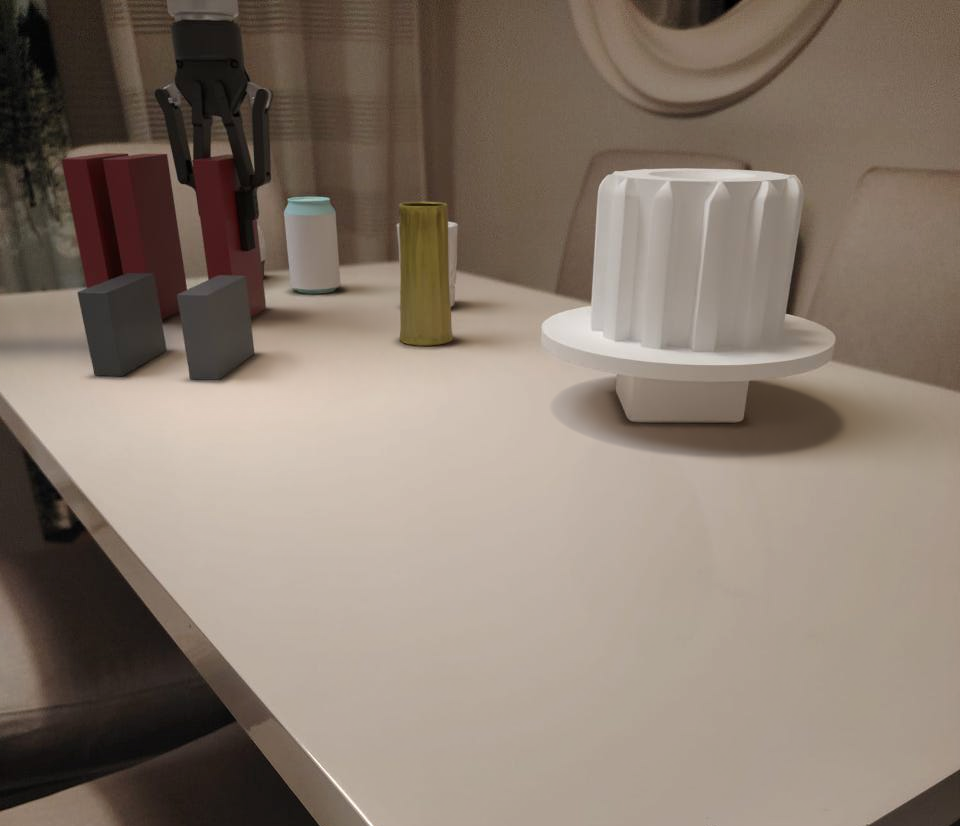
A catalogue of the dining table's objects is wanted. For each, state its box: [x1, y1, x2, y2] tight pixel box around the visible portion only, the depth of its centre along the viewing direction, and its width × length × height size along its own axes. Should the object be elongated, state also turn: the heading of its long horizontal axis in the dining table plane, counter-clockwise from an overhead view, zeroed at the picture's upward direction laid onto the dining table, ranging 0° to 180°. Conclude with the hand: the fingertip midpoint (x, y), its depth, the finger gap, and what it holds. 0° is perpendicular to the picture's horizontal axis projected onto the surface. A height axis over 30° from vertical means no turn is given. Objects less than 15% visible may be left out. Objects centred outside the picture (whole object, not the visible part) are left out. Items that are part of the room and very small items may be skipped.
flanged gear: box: [540, 167, 836, 424], centre depth 80 cm, size 25×25×19 cm
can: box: [283, 196, 341, 295], centre depth 132 cm, size 7×7×12 cm
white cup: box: [396, 221, 459, 308], centre depth 123 cm, size 8×8×10 cm
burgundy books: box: [60, 152, 188, 321], centre depth 116 cm, size 8×11×18 cm
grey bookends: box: [77, 273, 256, 381], centre depth 96 cm, size 13×11×8 cm
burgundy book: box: [191, 154, 267, 318], centre depth 114 cm, size 3×11×18 cm, turn 173°
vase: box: [398, 201, 454, 347], centre depth 104 cm, size 6×6×14 cm
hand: (233, 248), depth 115 cm, fingers open, 3 cm apart
